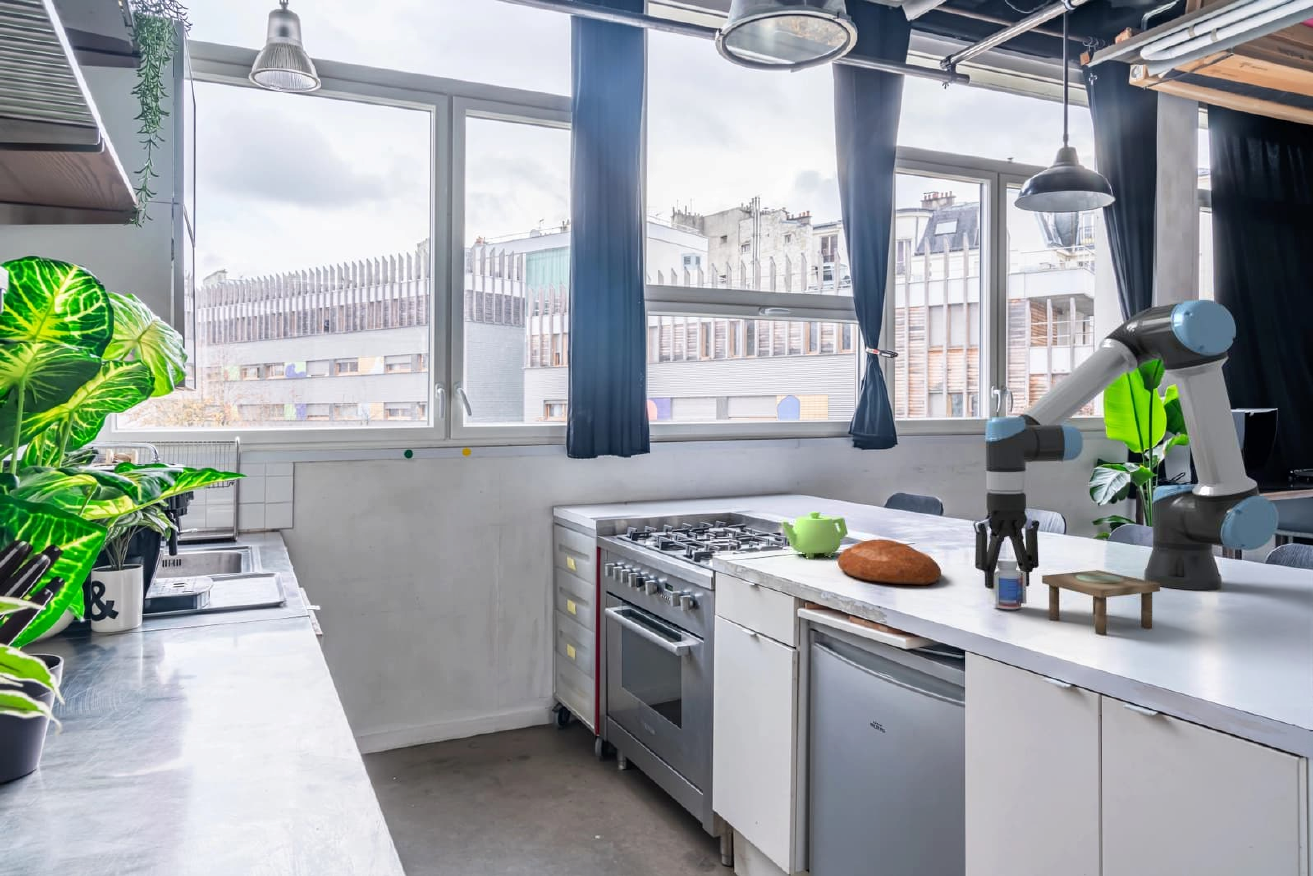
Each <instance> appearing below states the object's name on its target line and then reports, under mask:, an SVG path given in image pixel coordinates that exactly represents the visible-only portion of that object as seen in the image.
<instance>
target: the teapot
mask: <svg viewBox="0 0 1313 876" xmlns="http://www.w3.org/2000/svg"><path fill="white" fill-rule="evenodd" d="M820 513H821V512H820V511H810V512H809V516H799V517H797V518H796V520H795V522H794V524H793V527H792V526H791V525H790V523H789V522H788V521H781V526H782V528H783V531H784V533H785V535H786V538H787V541H788V542H789V544H790V546H791V548H792V549H793V550H794V551H796V552H797V553H798V552H802V553H806V554H805V556H806V557H808V558H807V559H814V558H815V554H818V553H824V554H823V555H824V557H825V556H834V554H833V553H835V552H838V550H839V548H840V547H841V544H842V543H841V540H843V539H844V538H845V537H846V536H847V535H848V534H849V533H848V529H847V524H846V522H845V518H844V517H842V516H841V517H835V518H834V517H833V518H831V517H828V516H822V515H821V516H820ZM836 524H837V525H836ZM813 557H814V558H813Z"/></svg>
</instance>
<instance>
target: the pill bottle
mask: <svg viewBox="0 0 1313 876" xmlns="http://www.w3.org/2000/svg"><path fill="white" fill-rule="evenodd" d="M1017 568H1018V563H1017V559H1014V558H1013V559H1012V558H998V561H997V565H996V569H995V573H998V574H999V605H993V606H994V608H997V609H1002V610H1018V609H1021V608H1022V603H1021V573H1020V572H1019V571H1017V570H1018V569H1017Z"/></svg>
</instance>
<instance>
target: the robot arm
mask: <svg viewBox="0 0 1313 876" xmlns="http://www.w3.org/2000/svg"><path fill="white" fill-rule="evenodd" d="M1235 323H1236V322H1235V319H1234V317H1233V315H1232V313H1230V311H1229V310H1228V308H1226V307H1225V306H1224V305H1223V304H1219V303H1218V302H1217V301H1214V300H1211V299H1189V300H1185V301H1180V302H1176V303H1171V304H1166V305H1159V306H1153V307H1149V308H1146V309H1144V310H1142V311H1140V312H1138V313H1136V314H1135V315H1133V316H1132V317H1130V318H1129V319H1127V320H1126V321H1124V322H1123V323H1122V324H1121V325H1119V326H1118V327H1117V328H1115V329H1114V330H1113V331H1112V332H1111V333H1109V334H1107V336H1106V337H1104V338H1103V339H1102V340H1101V341H1100V342H1099V344H1098V349H1097V350H1096V351H1095V352H1094V353H1092V354H1091V355H1090V356H1089V357H1088V358H1087V359H1085V360H1084V361H1083V362H1082V363H1080V364H1079V365H1078V366H1077V367H1076V368H1074V370H1072V371H1071V372H1070V373H1069V374H1067V375H1066V376H1064V378H1063V379H1061V381H1059V382H1058V383H1057V384H1056V385H1054V386H1053V387H1052V388H1051V389H1050V390H1049V391H1047V392H1046V393H1045V394H1043V395H1042V396H1041V397H1040V398H1039V399H1038V400H1036V401H1035V402H1034V403H1032V405H1031V406H1029V407H1028V408H1027V409H1025V410H1024V411H1023V412H1022V413H1020V415H1019V416H1006V417H1001V416H1000V417H997V416H996V417H990V418H988V419H987V421H986V424H985V426H986V427H985V437H984V441H985V465H986V469H985V470H986V471H985V472H986V473H985V475H986V489H987V490H988V492H987V493H986V510H987V515H986V517H985V519H984V520H982V521H980V522H979V521H974V522H973V524H972V526H973V528H974V532H975V551H974V552H975V555H974V556H975V557H974V558H975V559H974V560H975V562H974V566H975V569H977V570H980V571H983V573H984V586H985V588H986V589H987V590H988V591H987V594H988V599H987V600H988V604H991V605H993V606H994V605H999V574H998V573H995V570H997V561H998V559H999V557H1000V552H1001V548H1002V544H1003V542H1004V541H1005V539H1006V538H1007V537H1008V538H1009V540H1011V545H1012V548H1013V551H1014V554H1015V555H1014V556H1015V560H1017V565H1018V566H1017V568H1018V569H1016V570H1017V571H1019V572H1020V573H1021V605H1022V604H1023V605H1024V604H1025V605H1026V604H1027V587H1030V573H1032V572H1033V571H1034V569H1038V567H1039V565H1040V564H1039V562H1040V561H1039V545H1038V544H1039V541H1038V540H1039V537H1038V531H1039V528H1040V525H1041V524H1040V521H1039V520H1035V519H1031V518H1028V516H1027V515H1026V513H1025V512H1026V509H1027V494H1026V493H1025V492H1024V491H1025V490H1026V489H1027V481H1026V480H1027V477H1026V471H1027V470H1026V469H1027V468H1026V467H1027V463H1031V462H1032V463H1033V462H1034V463H1035V462H1039V463H1040V462H1061V463H1064V461H1066V462H1067V461H1073V460H1075V459H1077V458H1078V457H1079V456H1080V455H1081V453H1082V451H1083V449H1084V448H1083V446H1084V445H1083V444H1084V443H1083V441H1084V440H1083V436H1082V433H1081V431H1080V430H1079V429H1078V427H1076V426H1074V425H1071V424H1065V423H1066V422H1067V421H1068V420H1070V419H1071V418H1072V417H1073V416H1075V415H1076V414H1077V413H1078V412H1080V411H1081V410H1082V409H1083V408H1084V407H1085V406H1086V405H1087V404H1089V403H1090V402H1092V401H1093V400H1094V399H1095V398H1096V397H1097V396H1099V395H1101V393H1102V392H1103V391H1105V390H1106V389H1107V388H1108V387H1109V386H1111V385H1112V384H1113V383H1114V382H1115V381H1116V380H1118V379H1119V378H1120V377H1122V375H1124V374H1131V373H1133V372H1134V371H1136V370H1138V368H1139V367H1141V366H1143V365H1145V364H1147V363H1149V362H1152V361H1156V360H1161V364H1162V367H1163V370H1164V372H1166V373H1168V374H1169V375H1171V376H1173V378H1174V382H1175V385H1176V389H1177V391H1176V392H1177V395H1178V400H1179V403H1180V407H1181V412H1182V416H1183V420H1184V424H1185V429H1186V433H1187V438H1188V441H1189V442H1188V443H1189V446H1190V451H1191V455H1192V460H1193V464H1194V468H1195V472H1196V476H1197V480H1198V481H1197V483H1196V484H1194V483H1193V484H1192V483H1191V484H1175V485H1161V486H1158V487H1156V488H1155V489H1154V491H1153V495H1152V501H1151V505H1152V507H1151V509H1152V550H1151V554H1150V556H1149V559H1148V562H1147V565H1146V568H1145V569H1144V573H1143V574H1144V576H1143V577H1144V578H1143V580H1146V581H1151V582H1156V583H1160V587H1164V588H1169V589H1170V588H1171V589H1179V590H1180V589H1181V590H1199V591H1200V590H1201V591H1203V590H1205V591H1206V590H1207V591H1209V590H1217V589H1221V588H1222V587H1223V586H1222V583H1223V582H1222V579H1223V578H1222V575H1221V573H1220V571H1219V568H1218V564H1217V562H1216V561H1217V560H1216V559H1215V557H1214V554H1213V545H1214V546H1216V547H1217V546H1218V547H1223V548H1228V549H1230V550H1233V551H1234V550H1236V551H1237V550H1242V551H1254V550H1258V549H1261V548H1262V547H1263V546H1265V545H1266V544H1268V543H1269V542H1270V541H1271V540H1272V538H1273V535H1275V534H1276V532H1277V530H1278V525H1279V518H1280V517H1279V511H1278V508H1277V507H1276V505H1275V503H1274V502H1273V501H1270V499H1268V498H1266V497H1264V496H1261V495H1260V492H1259V487H1258V483H1257V481H1256V480H1254V479H1252V478H1251V477H1248V476H1247V473H1246V468H1245V466H1244V465H1245V464H1244V459H1243V455H1242V451H1241V447H1240V443H1239V438H1238V434H1237V429H1236V425H1235V420H1234V417H1233V413H1232V409H1231V408H1232V407H1231V403H1230V399H1229V395H1228V389H1227V385H1226V382H1225V381H1226V380H1225V377H1224V373H1223V368H1222V367H1223V365H1224V364H1225V363H1226V361H1227V360H1228V359H1229V356H1228V351H1227V350H1229V348H1230V347H1231V346H1233V345H1232V344H1233V343H1234V339H1235V338H1236V336H1237V334H1236V333H1237V331H1236V330H1237V328H1236V324H1235ZM1023 528H1024V534H1023V531H1022V529H1023ZM989 529H990V534H989V545H988V531H989ZM1024 536H1025V542H1024Z"/></svg>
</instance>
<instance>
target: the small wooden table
mask: <svg viewBox="0 0 1313 876" xmlns="http://www.w3.org/2000/svg"><path fill="white" fill-rule="evenodd" d="M1041 583H1042V584H1044V585H1048V619H1049V620H1050V621H1053V622H1054V621H1055V622H1058V621H1060V589H1063V590H1067V591H1072V592H1075V593H1079V594H1084V595H1087V596H1090V597H1091V596H1092V615H1094V620H1095V621H1094V622H1095V623H1094V626H1095V627H1094V629H1095V630H1094V631H1095V634H1096V635H1100V636H1106V635H1107V627H1108V626H1107V598H1112V597H1113V598H1114V597H1120V596H1121V597H1122V596H1131V595H1139V594H1140V622H1141V623H1140V627H1141V628H1142V629H1146V630H1151V629H1152V630H1153V593H1157V592H1159V593H1160V592H1161V586H1160V583H1156V582H1151V581H1146V580H1144V579H1141V578H1137V577H1133V576H1132V577H1131V576H1128V575H1127V576H1126V575H1122V574H1118V573H1113V572H1107V571H1103V570H1099V569H1095V570H1086V571H1085V570H1084V571H1077V572H1076V571H1075V572H1065V573H1055V574H1054V573H1053V574H1045V575H1042V576H1041Z"/></svg>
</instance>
